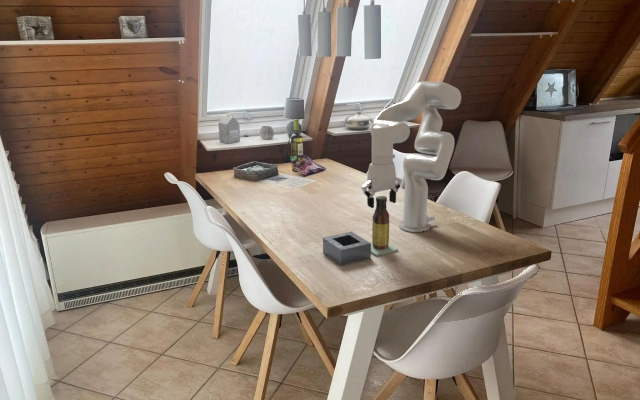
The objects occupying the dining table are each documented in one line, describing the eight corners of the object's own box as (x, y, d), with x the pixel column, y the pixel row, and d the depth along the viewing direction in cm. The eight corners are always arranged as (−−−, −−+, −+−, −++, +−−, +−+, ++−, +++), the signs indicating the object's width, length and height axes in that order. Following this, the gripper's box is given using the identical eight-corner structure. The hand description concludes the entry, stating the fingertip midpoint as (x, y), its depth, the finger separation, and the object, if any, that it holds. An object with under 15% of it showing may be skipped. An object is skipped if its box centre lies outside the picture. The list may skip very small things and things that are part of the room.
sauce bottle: (377, 242, 189) (379, 193, 183) (391, 246, 185) (394, 196, 179) (368, 247, 184) (369, 197, 178) (382, 251, 181) (384, 200, 174)
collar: (351, 246, 188) (351, 231, 186) (370, 258, 177) (371, 243, 175) (323, 252, 183) (322, 237, 181) (341, 265, 171) (341, 250, 169)
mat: (382, 242, 191) (382, 240, 191) (398, 251, 183) (398, 249, 183) (361, 247, 187) (361, 245, 187) (376, 256, 179) (376, 254, 178)
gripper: (395, 154, 182) (394, 197, 187) (356, 161, 174) (356, 206, 180) (408, 158, 175) (406, 203, 181) (367, 165, 168) (367, 212, 173)
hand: (381, 204), depth 180 cm, fingers open, 9 cm apart
